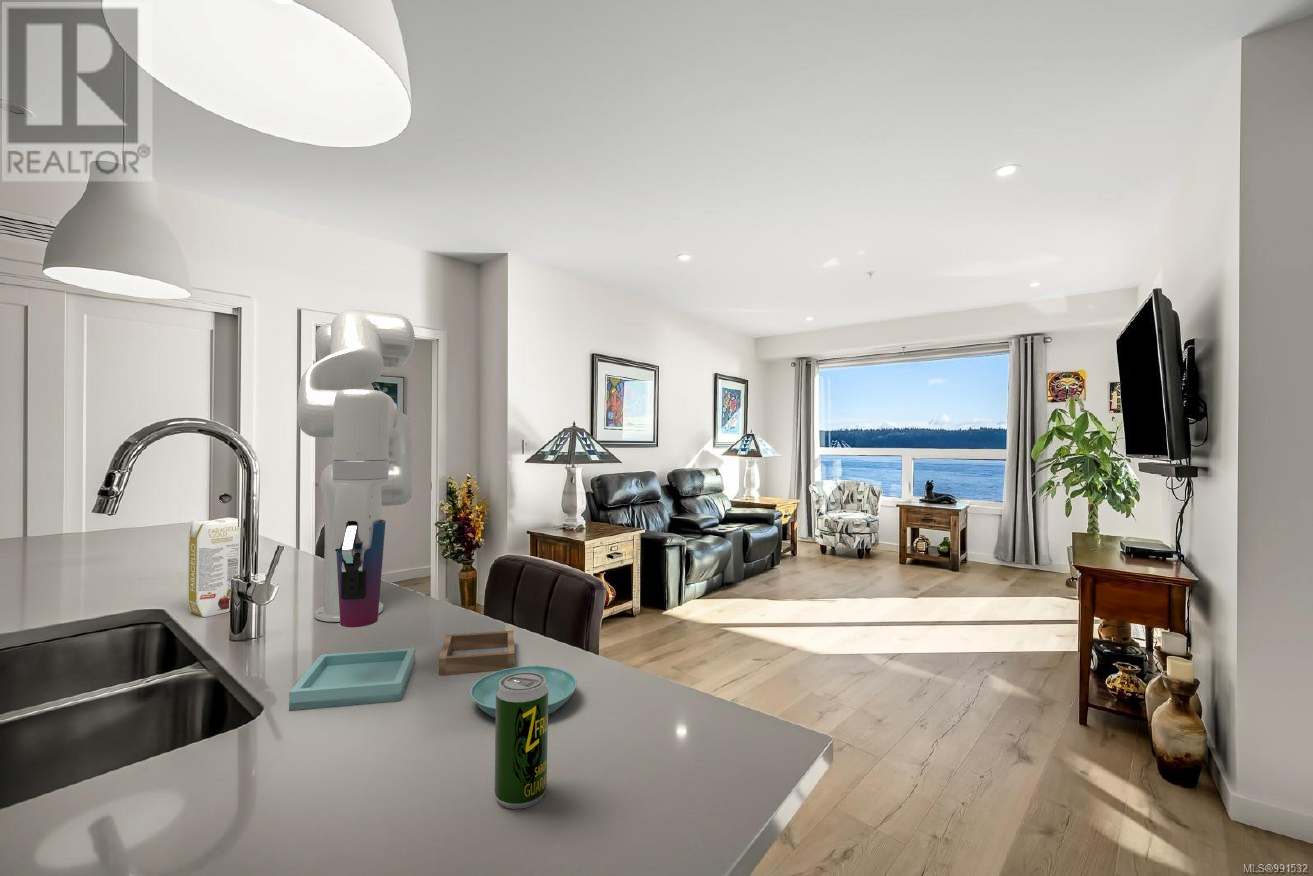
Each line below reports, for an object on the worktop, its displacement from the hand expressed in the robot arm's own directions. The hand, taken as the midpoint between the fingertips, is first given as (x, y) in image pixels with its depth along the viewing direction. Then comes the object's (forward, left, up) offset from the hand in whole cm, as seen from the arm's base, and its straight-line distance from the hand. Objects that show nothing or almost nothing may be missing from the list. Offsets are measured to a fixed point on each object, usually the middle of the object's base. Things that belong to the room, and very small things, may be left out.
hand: (359, 591), depth 88 cm
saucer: (+11, +24, -14) cm, 30 cm away
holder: (-7, +17, -14) cm, 23 cm away
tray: (0, 0, -14) cm, 14 cm away
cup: (0, 0, -5) cm, 5 cm away
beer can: (+33, +23, -14) cm, 43 cm away
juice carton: (-45, -37, -14) cm, 60 cm away
